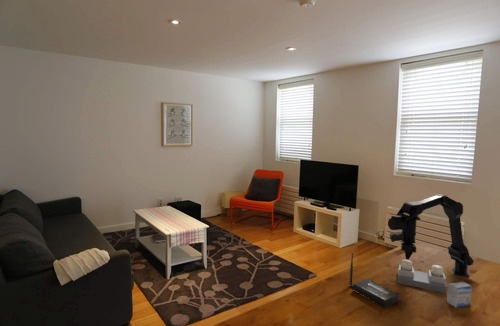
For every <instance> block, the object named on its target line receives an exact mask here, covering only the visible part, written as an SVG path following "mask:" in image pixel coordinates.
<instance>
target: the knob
mask: <svg viewBox="0 0 500 326" xmlns="http://www.w3.org/2000/svg"><path fill="white" fill-rule="evenodd" d="M401 265H402V267H401V268H402V269H404V270H411V268H412V267H413V266H412V265H413V261H412V260H410V259H409V260H406V258H405V259H402V260H401Z"/></svg>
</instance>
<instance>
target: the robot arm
mask: <svg viewBox="0 0 500 326" xmlns="http://www.w3.org/2000/svg"><path fill="white" fill-rule="evenodd" d="M436 206H441V207H442V209H443V213H444V214H445V215H446V217H447V218H448V223H449V225H448V226H449V231H450V238H451V239H450V240H451V244H450V246H447V249H448V254H449V256H450V259H451V260H453V261H454V268H452V272H453V274H454V275H458V276H463V277H468V278H469V277H470V274H469V272H468V269H469V266H470V267H471V266H472V265H474V262H475V261H474V259H473V258H472V257H471V256H470V252H469V249H468V247H467V246H466V245H465V243H464V236H463V230H462V221H461V217H462V216H463V214H464V205H463V203H461V201H460V202H459V201H456V200H454V199H452V198H451V197H449V196H447V195H445V194H441V193H437V194H435V195H433V196H431V197H427V198H425V199H421V200H418V201H407V202H404V203H402V206H401V207H400V208H399V210H398V212H396V215H391V217H390V218H389V219H388V221H387V226H388V228H389V230H391V231H396V232H391V233H389V239H390V241H391V242H392V243H394V242H398V241H401V243H400V245H401V246H400V250H401V251H403V252H404V256H405V260H410V258H411V256H412V255H413V254H414V253H417V246H416V235H417V221H421V218H420V216H419V215H421V214H422V213H423V212H424V211H425V210H428V209H431V208H433V207H436Z"/></svg>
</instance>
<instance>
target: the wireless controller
mask: <svg viewBox="0 0 500 326" xmlns="http://www.w3.org/2000/svg"><path fill="white" fill-rule="evenodd" d="M353 259H354V252H353V251H351V260H350V261H351V262H350V268H349V285H351V286H352V287H351V288H352V291H353V290H355V291H357V292H359V293H360V294H362V295H364V296H365V297H367V298H369V299H370V300H372V301H374V302H375V303H374V302H373V303H374V304H376V303H377V304H378V306H379V305H380V306H379V307H381V306H382V307H381V308H383V309H386V308H388V307H391V306H393V305H395V304H397V303H399V302H400V295H401V294H400V293H399V292H397V291H393V290H392V289H389V288H386V287H385V286H383V285H381V284H379V283H376V282H375V281H373V280H372V279H370V278H366V279H363V280H361V281H357V282H355V283H353V274H354V273H353V272H354V264H353V262H354V261H353ZM349 285H348V286H349ZM365 297H364V298H365ZM370 300H369V301H370ZM372 301H371V302H372ZM377 304H376V305H377Z"/></svg>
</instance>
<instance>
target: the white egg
mask: <svg viewBox="0 0 500 326" xmlns="http://www.w3.org/2000/svg"><path fill="white" fill-rule="evenodd" d="M431 271H432V274H433V275H436V276H442V274H443V273H444V267H443V266H441V265H438V264H433V265H431Z"/></svg>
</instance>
